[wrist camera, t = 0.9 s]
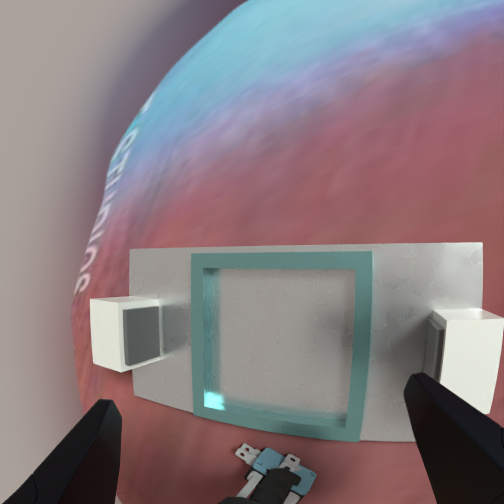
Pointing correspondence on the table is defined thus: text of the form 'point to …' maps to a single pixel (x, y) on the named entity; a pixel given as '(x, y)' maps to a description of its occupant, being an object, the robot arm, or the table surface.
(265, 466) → the push button
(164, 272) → the teal-edged white tray
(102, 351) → the white padded clamp jaws
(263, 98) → the table surface
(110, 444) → the robot arm
